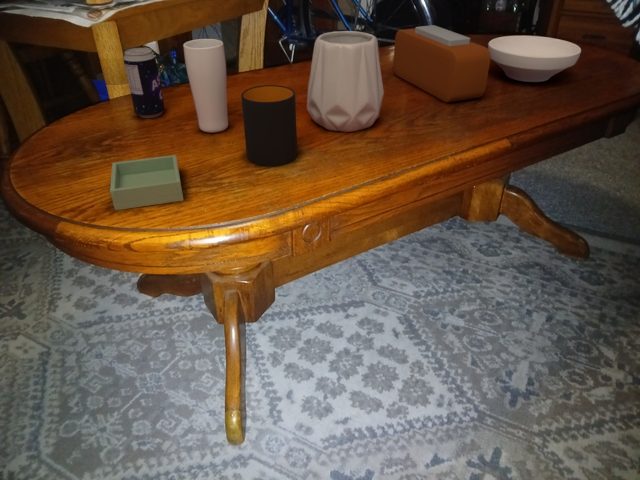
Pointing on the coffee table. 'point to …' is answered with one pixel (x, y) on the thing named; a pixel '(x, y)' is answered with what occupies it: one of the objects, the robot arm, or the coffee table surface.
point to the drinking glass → (208, 82)
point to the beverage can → (144, 82)
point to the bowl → (532, 56)
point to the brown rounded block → (441, 62)
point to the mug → (270, 124)
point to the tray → (145, 182)
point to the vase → (345, 81)
